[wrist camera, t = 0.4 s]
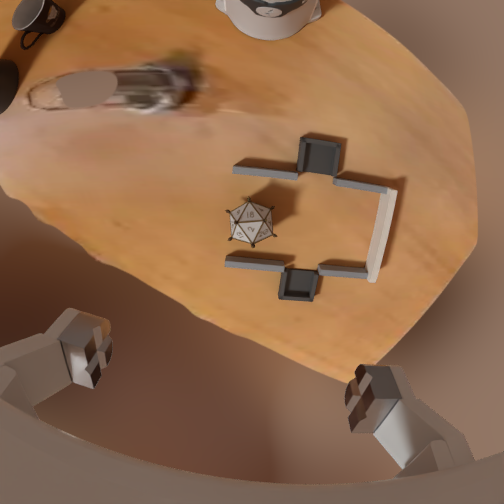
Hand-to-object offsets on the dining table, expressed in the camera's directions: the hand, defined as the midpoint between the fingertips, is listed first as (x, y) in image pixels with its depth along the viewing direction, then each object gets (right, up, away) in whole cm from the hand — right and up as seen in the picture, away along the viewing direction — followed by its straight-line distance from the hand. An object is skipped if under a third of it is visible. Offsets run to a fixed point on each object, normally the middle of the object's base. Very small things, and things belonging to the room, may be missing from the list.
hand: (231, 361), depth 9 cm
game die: (0, +10, +47) cm, 48 cm away
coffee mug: (-42, +51, +30) cm, 73 cm away
